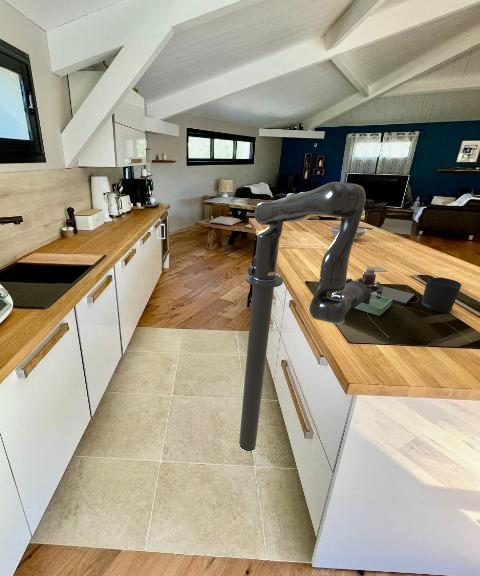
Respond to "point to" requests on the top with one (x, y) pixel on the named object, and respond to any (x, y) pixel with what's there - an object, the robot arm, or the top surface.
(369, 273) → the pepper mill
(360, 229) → the ramen bowl
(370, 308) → the tray
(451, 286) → the pen holder
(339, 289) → the robot arm
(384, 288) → the slate board
